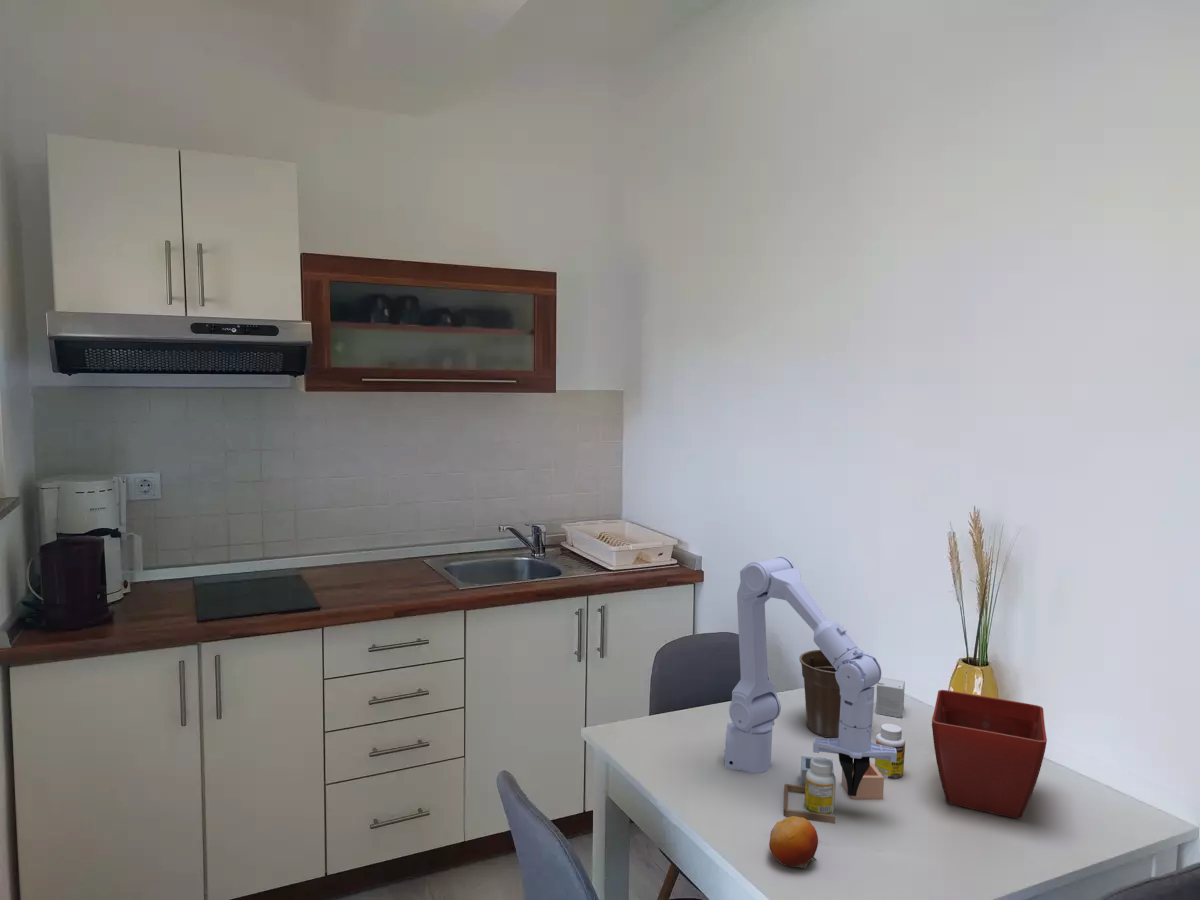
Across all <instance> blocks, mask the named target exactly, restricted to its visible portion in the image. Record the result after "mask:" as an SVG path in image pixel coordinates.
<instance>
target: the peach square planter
mask: <svg viewBox="0 0 1200 900" xmlns="http://www.w3.org/2000/svg"><path fill="white" fill-rule="evenodd" d="M853 764H854V762H853ZM852 778H853V776H852ZM840 783H841V785H842V787H843V788H844V790H845V791H846V793H847V794H848V791H847V781H846V778H845V775H844V772H843V769H842V768H841V782H840ZM884 785H885V778H884V777H883V776H882V774H881V773H880V772H879V770H878V769H877V768H876V767H875V763H874V762H870V766H869V768H868V770H867V771H866V773H865V774H864V776H863V778H862V779H861V782H860V784H859V787H858V790H857V793H856V796H850V795H848V796H849V797H850V799H851V800H883V799H884Z"/></svg>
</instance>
